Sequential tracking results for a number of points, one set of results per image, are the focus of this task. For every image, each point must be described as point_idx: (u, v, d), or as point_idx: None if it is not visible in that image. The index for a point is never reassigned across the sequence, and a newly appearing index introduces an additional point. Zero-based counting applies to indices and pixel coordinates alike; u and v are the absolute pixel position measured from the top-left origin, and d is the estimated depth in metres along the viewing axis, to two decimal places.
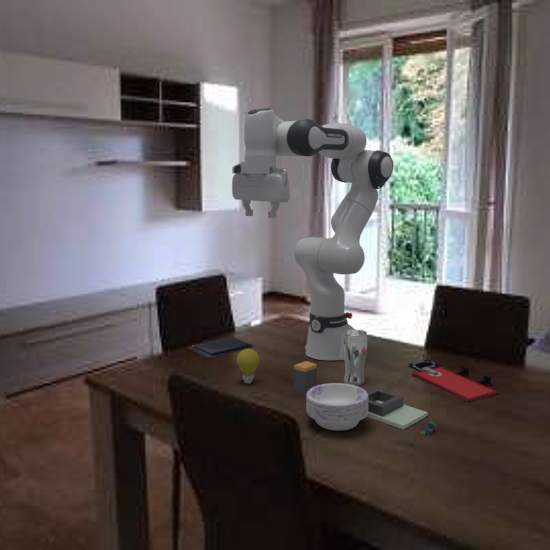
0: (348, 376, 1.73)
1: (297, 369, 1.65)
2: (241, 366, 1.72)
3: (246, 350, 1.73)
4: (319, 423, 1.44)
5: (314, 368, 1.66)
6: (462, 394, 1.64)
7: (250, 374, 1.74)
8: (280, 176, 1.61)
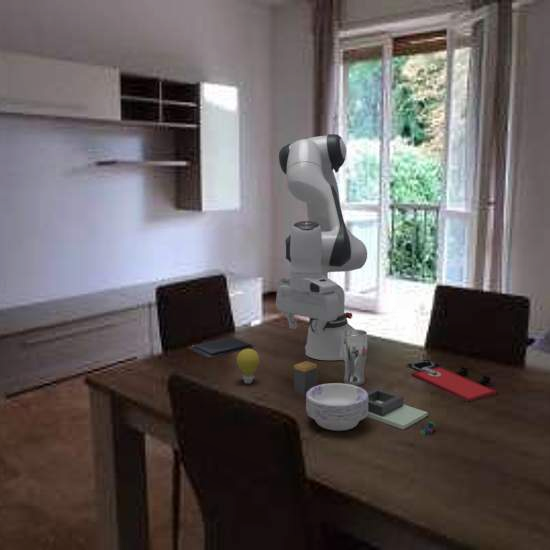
0: (348, 376, 1.73)
1: (297, 369, 1.65)
2: (241, 366, 1.72)
3: (246, 350, 1.73)
4: (319, 423, 1.44)
5: (314, 368, 1.66)
6: (462, 394, 1.64)
7: (250, 374, 1.74)
8: None
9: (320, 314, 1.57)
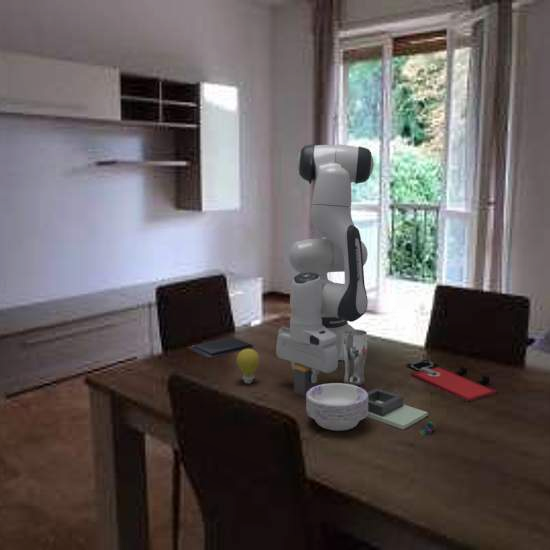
0: (348, 376, 1.73)
1: (297, 369, 1.65)
2: (241, 366, 1.72)
3: (246, 350, 1.73)
4: (319, 423, 1.44)
5: None
6: (462, 394, 1.64)
7: (250, 374, 1.74)
8: None
9: (319, 366, 1.60)
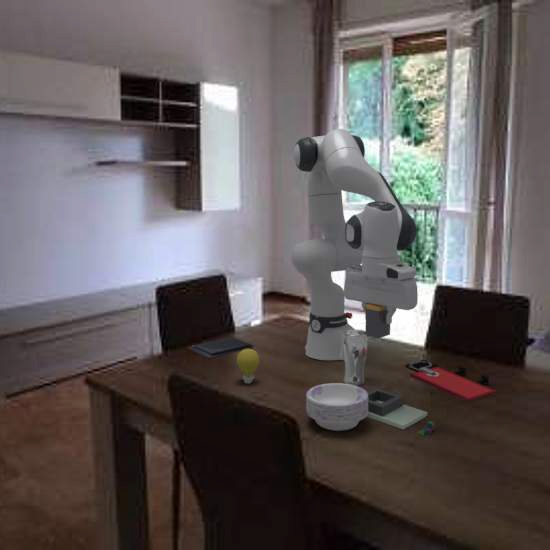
0: (348, 376, 1.73)
1: (370, 309, 1.49)
2: (241, 366, 1.72)
3: (246, 350, 1.73)
4: (319, 423, 1.44)
5: None
6: (461, 394, 1.64)
7: (250, 374, 1.74)
8: None
9: (397, 303, 1.44)
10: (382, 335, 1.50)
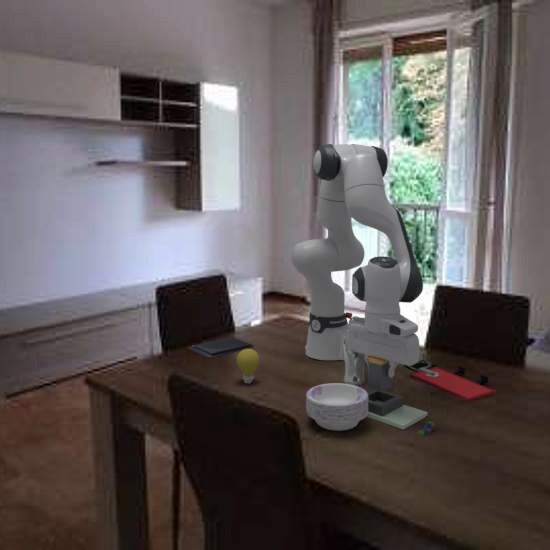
0: (348, 376, 1.73)
1: (372, 362, 1.51)
2: (241, 366, 1.72)
3: (246, 350, 1.73)
4: (319, 423, 1.44)
5: None
6: (461, 394, 1.64)
7: (250, 374, 1.74)
8: None
9: (399, 358, 1.46)
10: (384, 388, 1.52)
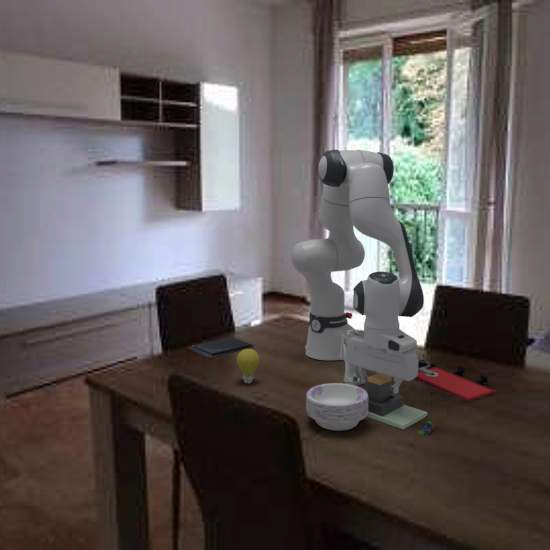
0: (348, 376, 1.73)
1: (371, 382, 1.53)
2: (241, 366, 1.72)
3: (246, 350, 1.73)
4: (319, 423, 1.44)
5: (389, 381, 1.54)
6: (461, 394, 1.64)
7: (250, 374, 1.74)
8: None
9: (398, 373, 1.47)
10: None
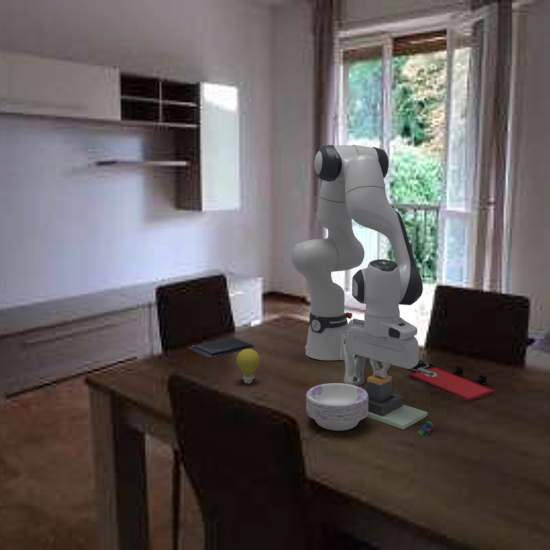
0: (348, 376, 1.73)
1: (371, 382, 1.53)
2: (241, 366, 1.72)
3: (246, 350, 1.73)
4: (319, 423, 1.44)
5: (389, 381, 1.54)
6: (461, 394, 1.64)
7: (250, 374, 1.74)
8: None
9: (399, 361, 1.47)
10: None
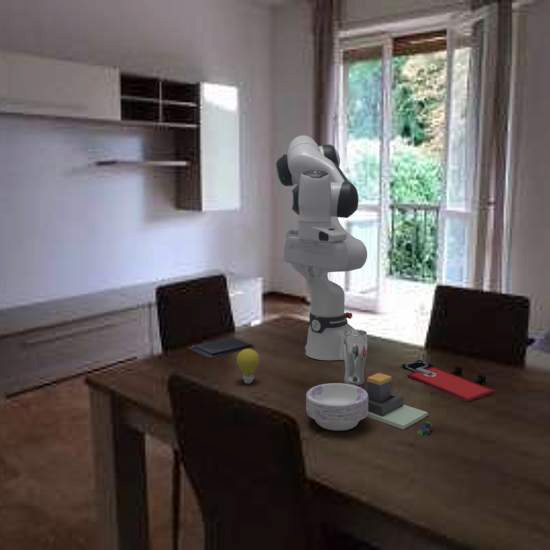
0: (348, 376, 1.73)
1: (371, 382, 1.53)
2: (241, 366, 1.72)
3: (246, 350, 1.73)
4: (319, 423, 1.44)
5: (389, 381, 1.54)
6: (461, 394, 1.64)
7: (250, 374, 1.74)
8: None
9: (329, 264, 1.56)
10: None
